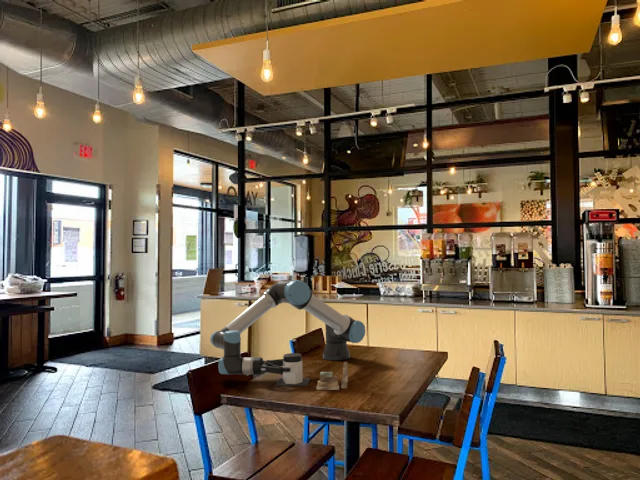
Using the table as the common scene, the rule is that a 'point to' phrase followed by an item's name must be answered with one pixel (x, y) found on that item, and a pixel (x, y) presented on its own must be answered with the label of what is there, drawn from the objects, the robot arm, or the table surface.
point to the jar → (293, 360)
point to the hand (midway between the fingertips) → (300, 365)
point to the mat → (304, 383)
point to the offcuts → (327, 380)
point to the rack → (344, 380)
